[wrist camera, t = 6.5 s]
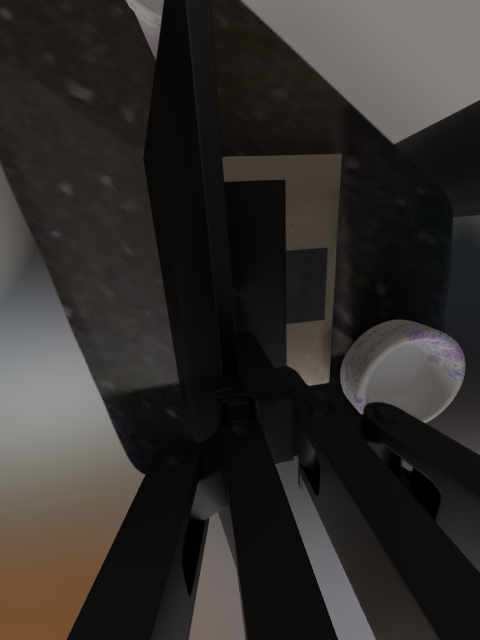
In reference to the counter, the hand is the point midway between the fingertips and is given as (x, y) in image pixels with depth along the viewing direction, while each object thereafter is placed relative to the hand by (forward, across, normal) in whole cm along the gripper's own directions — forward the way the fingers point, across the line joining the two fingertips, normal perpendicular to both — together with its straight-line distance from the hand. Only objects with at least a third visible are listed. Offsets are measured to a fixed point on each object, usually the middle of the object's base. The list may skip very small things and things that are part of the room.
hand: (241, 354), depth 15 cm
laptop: (+19, +5, 0) cm, 20 cm away
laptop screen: (+7, -3, 0) cm, 8 cm away
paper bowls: (+19, +24, -13) cm, 33 cm away
